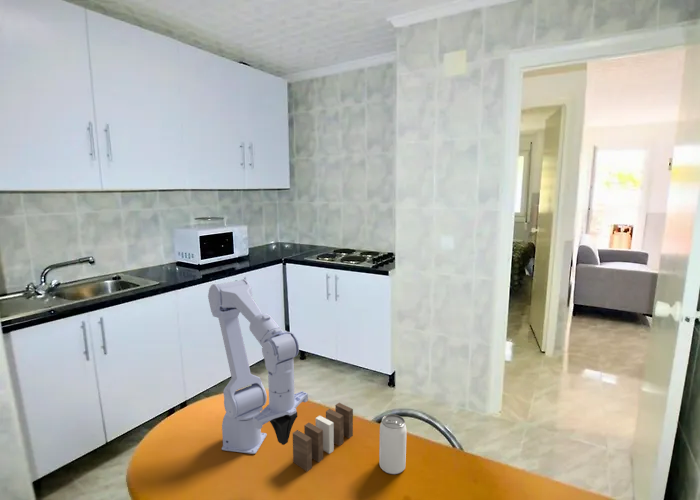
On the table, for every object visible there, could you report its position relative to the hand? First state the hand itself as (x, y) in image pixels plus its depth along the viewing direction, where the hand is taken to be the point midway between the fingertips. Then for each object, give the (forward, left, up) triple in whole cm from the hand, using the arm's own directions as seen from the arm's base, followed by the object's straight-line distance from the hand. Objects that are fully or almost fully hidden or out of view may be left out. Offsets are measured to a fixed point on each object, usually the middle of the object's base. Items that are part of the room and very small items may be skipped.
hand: (282, 441), depth 85 cm
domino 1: (+3, +5, -10) cm, 11 cm away
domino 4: (+9, +16, -10) cm, 20 cm away
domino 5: (+11, +19, -10) cm, 24 cm away
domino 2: (+5, +9, -10) cm, 14 cm away
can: (+25, +9, -10) cm, 28 cm away
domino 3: (+7, +12, -10) cm, 17 cm away
